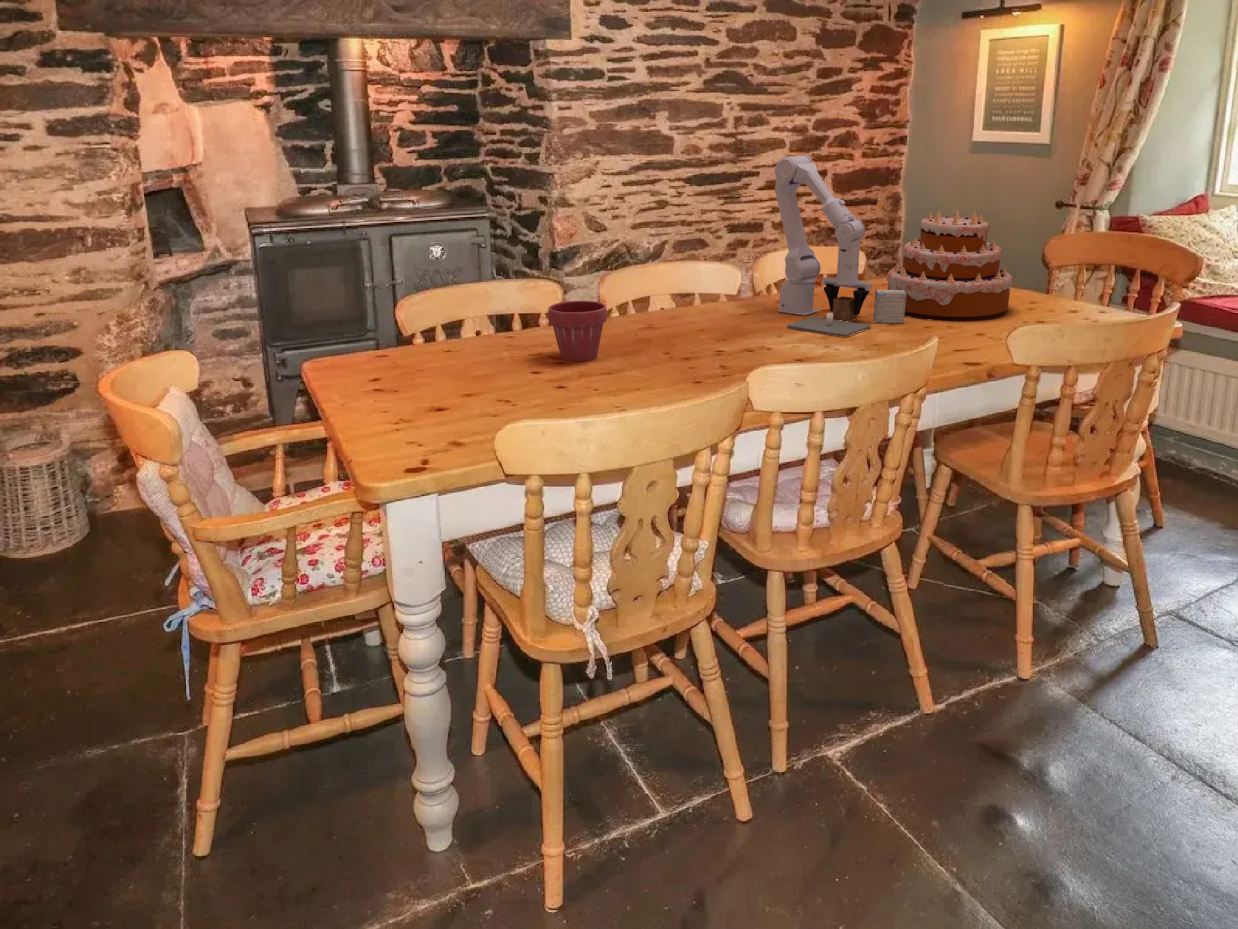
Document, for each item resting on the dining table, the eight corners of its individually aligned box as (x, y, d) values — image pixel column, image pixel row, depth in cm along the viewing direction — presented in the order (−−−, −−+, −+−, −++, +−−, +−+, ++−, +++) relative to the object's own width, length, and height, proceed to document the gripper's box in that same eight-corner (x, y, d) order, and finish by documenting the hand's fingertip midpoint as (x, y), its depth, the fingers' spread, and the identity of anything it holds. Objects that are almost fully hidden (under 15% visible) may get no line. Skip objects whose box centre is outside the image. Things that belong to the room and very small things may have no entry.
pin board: (787, 328, 276) (787, 313, 274) (813, 319, 286) (814, 305, 284) (845, 337, 265) (846, 322, 263) (871, 328, 275) (872, 313, 273)
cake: (986, 296, 313) (996, 205, 303) (1026, 321, 280) (1040, 219, 270) (873, 297, 314) (880, 206, 304) (900, 322, 281) (909, 221, 271)
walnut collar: (832, 319, 285) (833, 298, 283) (841, 316, 288) (842, 296, 286) (847, 322, 282) (849, 301, 279) (856, 319, 285) (858, 298, 283)
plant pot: (540, 361, 246) (538, 309, 242) (563, 348, 259) (562, 298, 254) (594, 366, 242) (593, 313, 237) (615, 352, 254) (614, 302, 249)
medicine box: (901, 320, 283) (904, 289, 280) (903, 323, 279) (906, 292, 276) (872, 320, 284) (875, 289, 281) (875, 323, 280) (877, 292, 277)
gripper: (817, 263, 281) (815, 311, 286) (864, 269, 272) (861, 318, 277) (830, 260, 286) (827, 307, 291) (877, 265, 277) (873, 314, 282)
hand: (844, 312), depth 284 cm, fingers open, 7 cm apart
